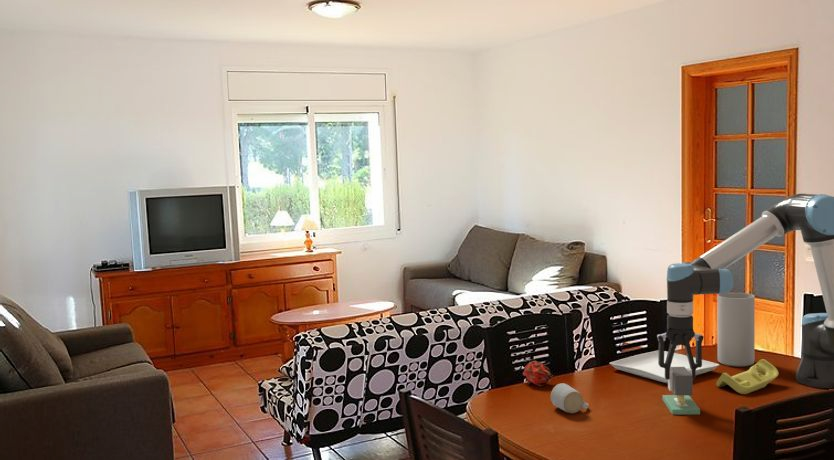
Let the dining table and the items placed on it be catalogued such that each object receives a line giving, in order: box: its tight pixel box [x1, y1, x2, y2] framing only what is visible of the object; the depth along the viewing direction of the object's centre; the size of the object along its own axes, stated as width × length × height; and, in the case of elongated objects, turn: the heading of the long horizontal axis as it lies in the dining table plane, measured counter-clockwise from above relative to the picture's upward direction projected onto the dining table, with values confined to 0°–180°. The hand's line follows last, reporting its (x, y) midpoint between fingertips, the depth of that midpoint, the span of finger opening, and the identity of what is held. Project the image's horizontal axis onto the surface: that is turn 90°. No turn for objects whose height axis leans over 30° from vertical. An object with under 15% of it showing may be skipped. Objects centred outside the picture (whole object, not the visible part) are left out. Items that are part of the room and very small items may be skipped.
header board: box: [662, 394, 701, 415], centre depth 234 cm, size 8×14×5 cm, turn 174°
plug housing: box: [670, 367, 694, 396], centre depth 235 cm, size 14×5×6 cm, turn 174°
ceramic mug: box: [550, 382, 589, 414], centre depth 235 cm, size 11×8×8 cm
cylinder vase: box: [716, 292, 756, 368], centre depth 279 cm, size 12×12×25 cm
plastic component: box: [715, 358, 779, 395], centre depth 252 cm, size 20×7×10 cm
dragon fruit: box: [521, 360, 554, 387], centre depth 263 cm, size 8×8×12 cm
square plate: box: [609, 349, 720, 384], centre depth 272 cm, size 27×27×4 cm
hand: (679, 389), depth 234 cm, fingers closed on plug housing, 5 cm apart
